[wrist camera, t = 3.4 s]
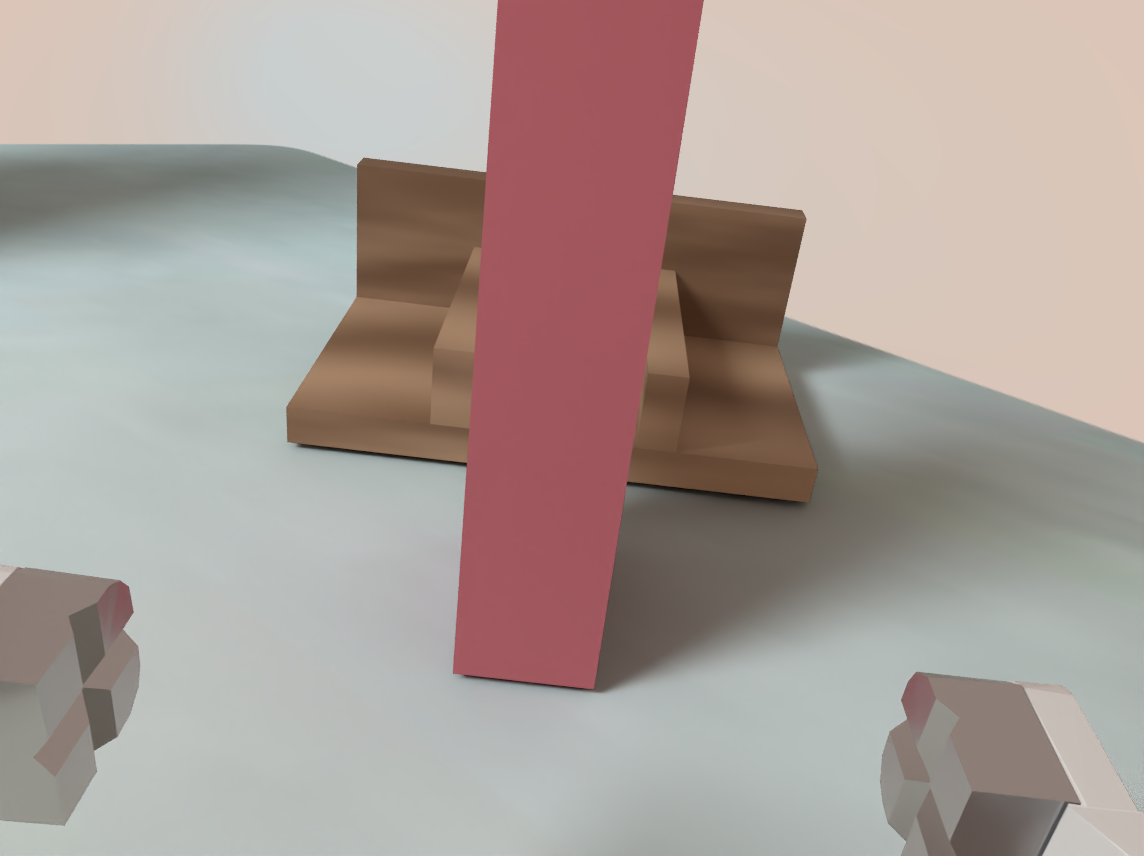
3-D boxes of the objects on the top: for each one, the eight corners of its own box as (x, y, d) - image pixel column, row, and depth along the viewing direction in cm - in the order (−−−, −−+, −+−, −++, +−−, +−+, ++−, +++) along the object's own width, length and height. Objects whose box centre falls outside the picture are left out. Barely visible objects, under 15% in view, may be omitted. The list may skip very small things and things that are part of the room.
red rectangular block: (594, 689, 23) (709, -38, 15) (453, 673, 22) (502, -64, 15) (599, 536, 28) (687, -59, 21) (485, 523, 28) (533, -79, 21)
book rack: (809, 502, 31) (858, 315, 28) (287, 442, 30) (280, 246, 27) (767, 363, 39) (802, 210, 36) (362, 316, 39) (363, 157, 36)
